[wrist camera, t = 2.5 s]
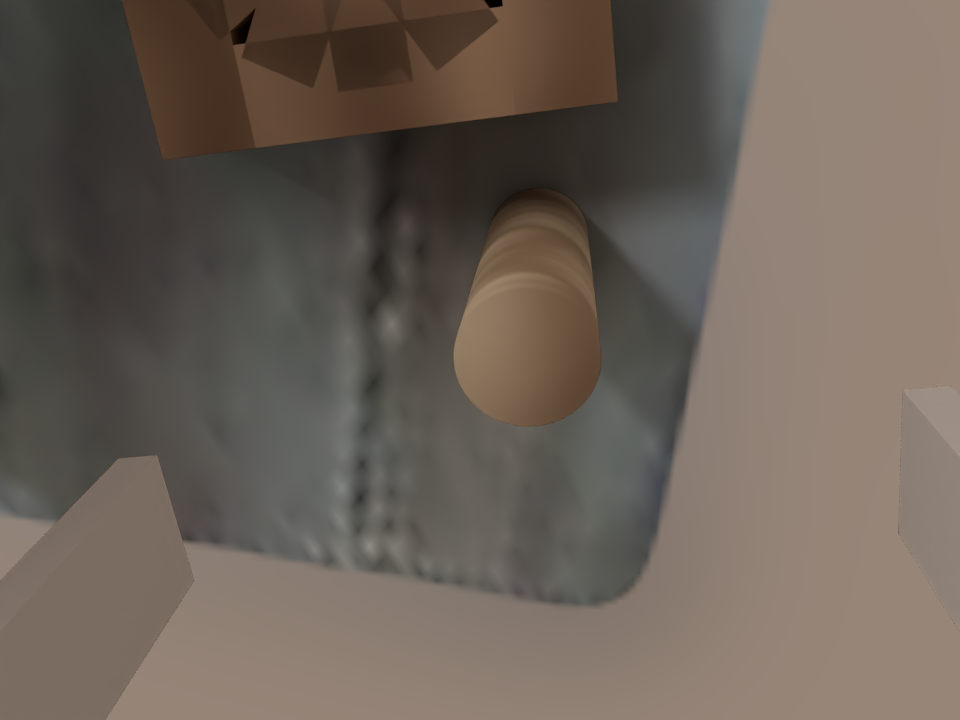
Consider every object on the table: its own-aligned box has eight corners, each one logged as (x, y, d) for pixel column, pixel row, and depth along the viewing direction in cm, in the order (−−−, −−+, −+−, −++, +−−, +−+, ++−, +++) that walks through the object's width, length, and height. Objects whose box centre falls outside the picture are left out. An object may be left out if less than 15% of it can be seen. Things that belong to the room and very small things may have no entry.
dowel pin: (495, 289, 34) (464, 431, 23) (483, 194, 33) (443, 297, 22) (592, 279, 34) (607, 420, 23) (583, 182, 33) (594, 281, 21)
